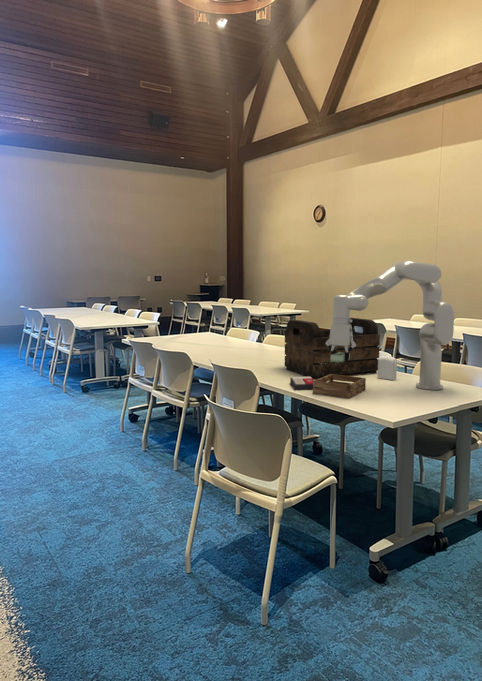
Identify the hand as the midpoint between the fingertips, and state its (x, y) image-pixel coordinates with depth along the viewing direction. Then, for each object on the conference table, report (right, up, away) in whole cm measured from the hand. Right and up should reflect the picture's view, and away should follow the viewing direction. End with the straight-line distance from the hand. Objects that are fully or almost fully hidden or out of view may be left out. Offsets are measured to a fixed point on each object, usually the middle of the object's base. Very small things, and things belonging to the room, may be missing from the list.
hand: (340, 359), depth 224 cm
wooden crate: (+5, -9, +54) cm, 55 cm away
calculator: (-16, -15, +14) cm, 26 cm away
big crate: (0, -15, +2) cm, 16 cm away
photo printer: (+31, -12, +31) cm, 46 cm away
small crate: (0, 0, 0) cm, 0 cm away
